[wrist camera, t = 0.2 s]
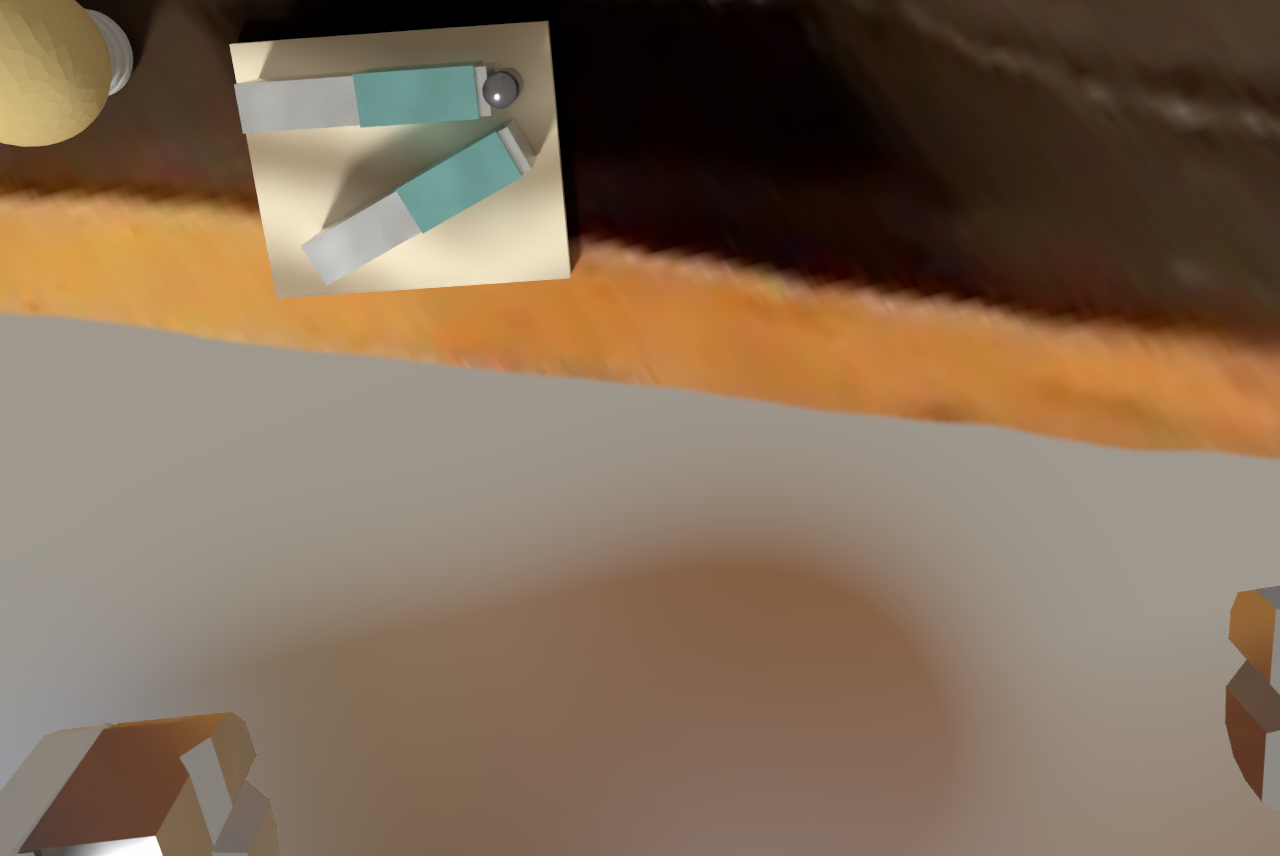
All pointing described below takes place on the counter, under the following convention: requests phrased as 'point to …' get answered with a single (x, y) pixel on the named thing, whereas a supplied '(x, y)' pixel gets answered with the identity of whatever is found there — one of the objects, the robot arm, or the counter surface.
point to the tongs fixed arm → (377, 96)
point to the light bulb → (56, 69)
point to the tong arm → (422, 201)
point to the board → (410, 165)
